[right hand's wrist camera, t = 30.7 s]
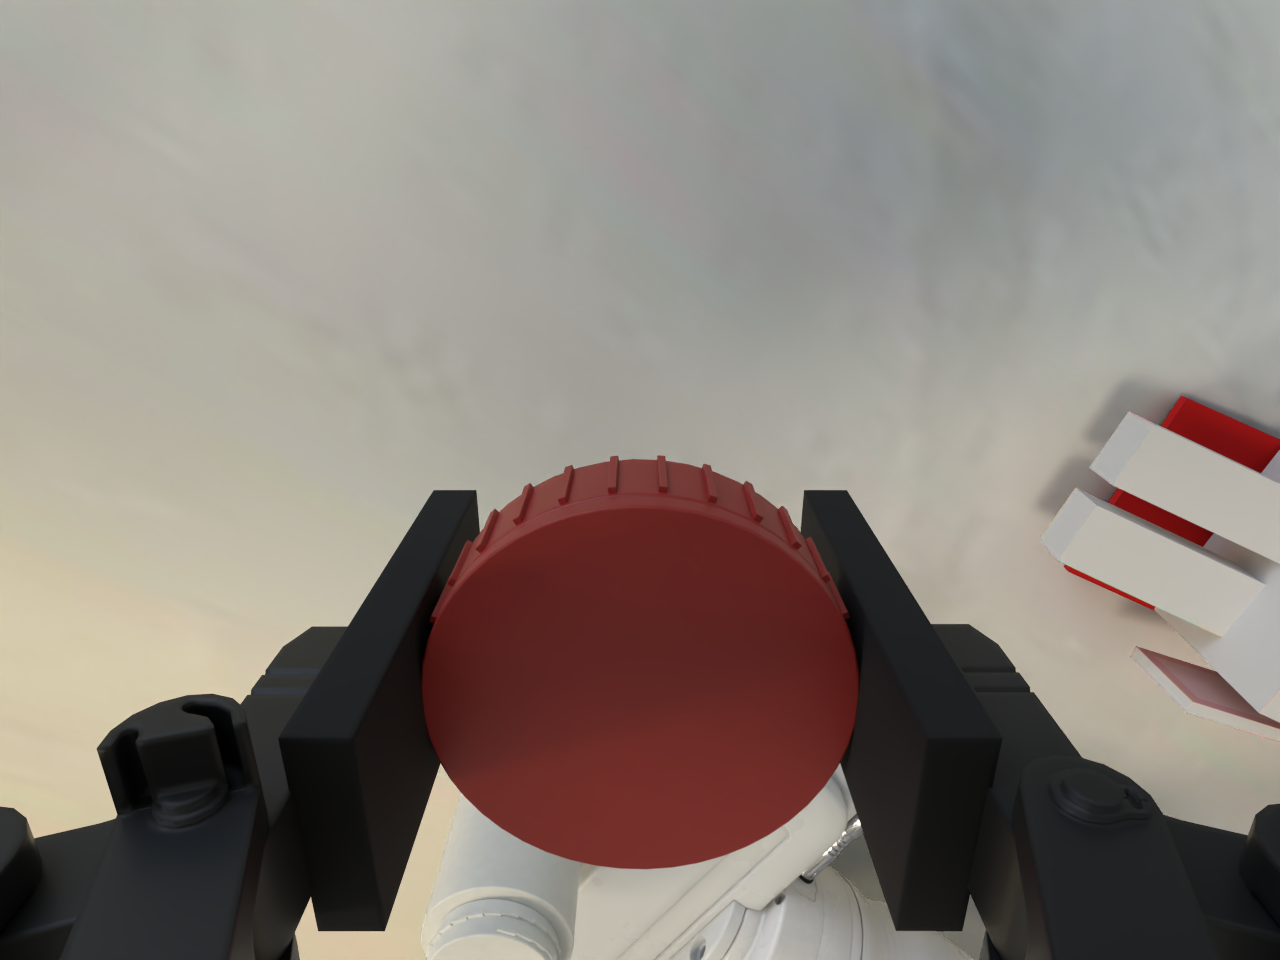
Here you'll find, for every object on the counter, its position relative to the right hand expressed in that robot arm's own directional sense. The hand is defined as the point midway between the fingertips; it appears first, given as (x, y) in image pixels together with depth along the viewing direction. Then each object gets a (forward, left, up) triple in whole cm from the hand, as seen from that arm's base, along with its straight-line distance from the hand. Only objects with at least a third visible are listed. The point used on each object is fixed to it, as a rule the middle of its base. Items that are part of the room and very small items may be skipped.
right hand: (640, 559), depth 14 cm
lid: (0, 0, +4) cm, 4 cm away
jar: (-10, -17, -21) cm, 29 cm away
